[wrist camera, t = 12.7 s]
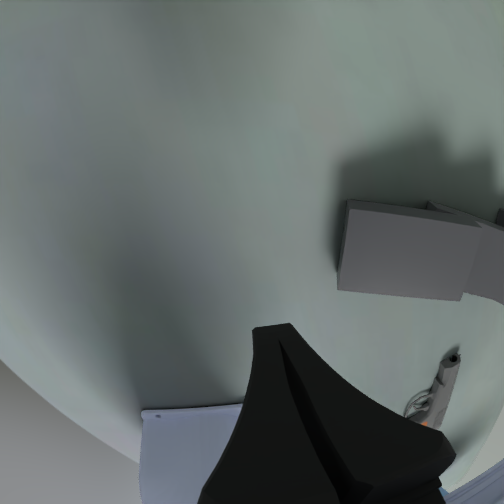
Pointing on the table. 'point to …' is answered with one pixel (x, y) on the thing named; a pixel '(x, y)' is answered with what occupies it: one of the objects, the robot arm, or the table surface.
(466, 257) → the domino
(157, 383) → the table surface
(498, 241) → the domino
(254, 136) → the table surface
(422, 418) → the handgun
